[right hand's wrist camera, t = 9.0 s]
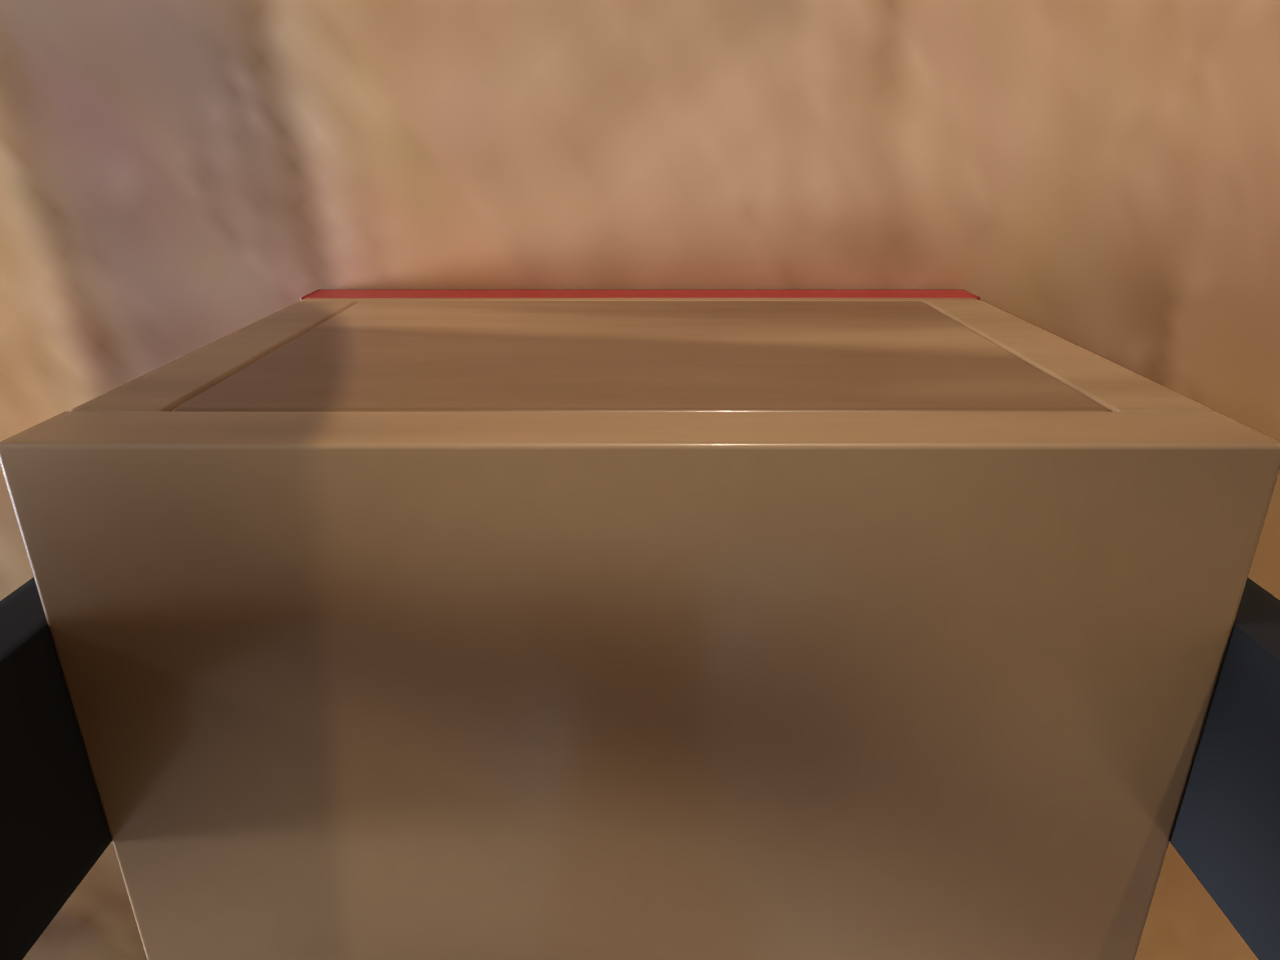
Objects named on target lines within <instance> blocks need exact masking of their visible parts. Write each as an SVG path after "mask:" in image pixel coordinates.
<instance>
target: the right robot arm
mask: <svg viewBox="0 0 1280 960" xmlns="http://www.w3.org/2000/svg"><path fill="white" fill-rule="evenodd" d="M111 841H112V839H111V836H110V832H109V829H108V826H107V822H106V819H105V815H104V812H103V809H102V805H101V802H100V799H99V795H98V792H97V788H96V785H95V782H94V778H93V775H92V772H91V768H90V765H89V761H88V758H87V755H86V751H85V748H84V744H83V741H82V738H81V734H80V731H79V728H78V724H77V721H76V717H75V714H74V711H73V707H72V704H71V701H70V697H69V694H68V690H67V687H66V684H65V680H64V677H63V674H62V670H61V667H60V663H59V660H58V657H57V653H56V650H55V647H54V643H53V640H52V636H51V633H50V630H49V626H48V623H47V620H46V616H45V613H44V609H43V606H42V603H41V599H40V596H39V592H38V589H37V586H36V582H35V579H34V577H33V578H32V579H31V580H29V581H28V582H26V583H25V584H24V585H22V586H21V587H20V588H18V589H17V590H15V591H14V592H13V593H11V594H10V595H8V596H7V597H6V598H4V599H3V600H1V601H0V960H22V959H23V958H24V956H25V955H26V954H27V953H28V951H29V950H30V949H31V947H32V946H33V945H34V943H35V942H36V941H37V939H38V938H39V937H40V935H41V934H42V933H43V931H44V930H45V929H46V927H47V926H48V925H49V923H50V922H51V921H52V919H53V918H54V917H55V915H56V914H57V913H58V911H59V910H60V909H61V907H62V906H63V905H64V903H65V902H66V901H67V899H68V898H69V897H70V895H71V894H72V893H73V892H74V890H75V889H76V888H77V886H78V885H79V884H80V882H81V881H82V880H83V878H84V877H85V876H86V874H87V873H88V872H89V870H90V869H91V868H92V866H93V865H94V864H95V862H96V861H97V860H98V858H99V857H100V856H101V854H102V853H103V852H104V850H105V849H106V848H107V846H108V845H109V844H110V842H111ZM1169 841H1170V843H1171V844H1172V845H1173V847H1174V848H1175V849H1176V850H1177V852H1178V853H1179V854H1180V856H1181V857H1182V858H1183V860H1184V861H1185V862H1186V864H1187V865H1188V866H1189V868H1190V869H1191V870H1192V872H1193V873H1194V874H1195V876H1196V877H1197V878H1198V880H1199V881H1200V882H1201V884H1202V885H1203V886H1204V888H1205V889H1206V890H1207V892H1208V893H1209V894H1210V896H1211V897H1212V898H1213V900H1214V901H1215V902H1216V904H1217V905H1218V906H1219V907H1220V909H1221V910H1222V911H1223V913H1224V914H1225V915H1226V917H1227V918H1228V919H1229V921H1230V922H1231V923H1232V925H1233V926H1234V927H1235V929H1236V930H1237V931H1238V933H1239V934H1240V935H1241V937H1242V938H1243V939H1244V941H1245V942H1246V943H1247V945H1248V946H1249V947H1250V949H1251V950H1252V951H1253V953H1254V954H1255V955H1256V957H1257V958H1258V959H1259V960H1280V600H1278V599H1277V598H1275V597H1274V596H1273V595H1271V594H1270V593H1268V592H1267V591H1266V590H1264V589H1263V588H1262V587H1260V586H1259V585H1257V584H1256V583H1255V582H1253V581H1252V580H1250V579H1249V578H1248V577H1247V581H1246V584H1245V587H1244V591H1243V594H1242V598H1241V601H1240V604H1239V608H1238V611H1237V614H1236V618H1235V621H1234V625H1233V628H1232V631H1231V635H1230V638H1229V641H1228V645H1227V648H1226V651H1225V655H1224V658H1223V662H1222V665H1221V668H1220V672H1219V675H1218V678H1217V682H1216V685H1215V689H1214V692H1213V695H1212V699H1211V702H1210V705H1209V709H1208V712H1207V716H1206V719H1205V722H1204V726H1203V729H1202V732H1201V736H1200V739H1199V743H1198V746H1197V749H1196V753H1195V756H1194V759H1193V763H1192V766H1191V770H1190V773H1189V776H1188V780H1187V783H1186V786H1185V790H1184V793H1183V796H1182V800H1181V803H1180V807H1179V810H1178V813H1177V817H1176V820H1175V823H1174V827H1173V830H1172V834H1171V837H1170V840H1169Z"/></svg>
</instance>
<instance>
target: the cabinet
mask: <svg viewBox="0 0 1280 960" xmlns="http://www.w3.org/2000/svg"><path fill="white" fill-rule="evenodd" d="M0 464H1V468H2V471H3V474H4V478H5V481H6V484H7V488H8V491H9V495H10V498H11V501H12V505H13V508H14V511H15V515H16V518H17V522H18V525H19V528H20V532H21V535H22V538H23V542H24V545H25V549H26V552H27V555H28V559H29V562H30V565H31V569H32V572H33V576H34V579H35V582H36V586H37V589H38V592H39V596H40V599H41V603H42V606H43V609H44V613H45V616H46V620H47V623H48V626H49V630H50V633H51V636H52V640H53V643H54V647H55V650H56V653H57V657H58V660H59V663H60V667H61V670H62V674H63V677H64V680H65V684H66V687H67V690H68V694H69V697H70V701H71V704H72V707H73V711H74V714H75V717H76V721H77V724H78V728H79V731H80V734H81V738H82V741H83V744H84V748H85V751H86V755H87V758H88V761H89V765H90V768H91V772H92V775H93V778H94V782H95V785H96V788H97V792H98V795H99V799H100V802H101V805H102V809H103V812H104V815H105V819H106V822H107V826H108V829H109V832H110V836H111V839H112V842H113V846H114V849H115V853H116V856H117V859H118V863H119V866H120V869H121V873H122V876H123V880H124V883H125V886H126V890H127V893H128V897H129V900H130V903H131V907H132V910H133V913H134V917H135V920H136V924H137V927H138V930H139V934H140V937H141V940H142V944H143V947H144V951H145V954H146V957H147V960H1134V958H1135V955H1136V952H1137V948H1138V945H1139V941H1140V938H1141V935H1142V931H1143V928H1144V925H1145V921H1146V918H1147V914H1148V911H1149V908H1150V904H1151V901H1152V898H1153V894H1154V891H1155V888H1156V884H1157V881H1158V877H1159V874H1160V871H1161V867H1162V864H1163V861H1164V857H1165V854H1166V850H1167V847H1168V844H1169V840H1170V837H1171V834H1172V830H1173V827H1174V823H1175V820H1176V817H1177V813H1178V810H1179V807H1180V803H1181V800H1182V796H1183V793H1184V790H1185V786H1186V783H1187V780H1188V776H1189V773H1190V770H1191V766H1192V763H1193V759H1194V756H1195V753H1196V749H1197V746H1198V743H1199V739H1200V736H1201V732H1202V729H1203V726H1204V722H1205V719H1206V716H1207V712H1208V709H1209V705H1210V702H1211V699H1212V695H1213V692H1214V689H1215V685H1216V682H1217V678H1218V675H1219V672H1220V668H1221V665H1222V662H1223V658H1224V655H1225V651H1226V648H1227V645H1228V641H1229V638H1230V635H1231V631H1232V628H1233V625H1234V621H1235V618H1236V614H1237V611H1238V608H1239V604H1240V601H1241V598H1242V594H1243V591H1244V587H1245V584H1246V581H1247V577H1248V574H1249V571H1250V567H1251V564H1252V560H1253V557H1254V554H1255V550H1256V547H1257V544H1258V540H1259V537H1260V533H1261V530H1262V527H1263V523H1264V520H1265V517H1266V513H1267V510H1268V506H1269V503H1270V500H1271V496H1272V493H1273V490H1274V486H1275V483H1276V480H1277V476H1278V473H1279V469H1280V441H1277V440H1275V439H1273V438H1271V437H1269V436H1267V435H1265V434H1263V433H1261V432H1258V431H1256V430H1254V429H1252V428H1250V427H1248V426H1246V425H1244V424H1242V423H1239V422H1237V421H1235V420H1233V419H1231V418H1229V417H1227V416H1225V415H1223V414H1220V413H1218V412H1214V410H1213V409H1211V408H1209V407H1207V406H1204V405H1202V404H1200V403H1198V402H1196V401H1194V400H1192V399H1190V398H1187V397H1185V396H1183V395H1181V394H1179V393H1177V392H1175V391H1173V390H1170V389H1168V388H1166V387H1164V386H1162V385H1160V384H1158V383H1156V382H1154V381H1151V380H1149V379H1147V378H1145V377H1143V376H1141V375H1139V374H1137V373H1134V372H1132V371H1130V370H1128V369H1126V368H1124V367H1122V366H1120V365H1118V364H1115V363H1113V362H1111V361H1109V360H1107V359H1105V358H1103V357H1101V356H1098V355H1096V354H1094V353H1092V352H1090V351H1088V350H1086V349H1084V348H1082V347H1079V346H1077V345H1075V344H1073V343H1071V342H1069V341H1067V340H1065V339H1062V338H1060V337H1058V336H1056V335H1054V334H1052V333H1050V332H1048V331H1046V330H1043V329H1041V328H1039V327H1037V326H1035V325H1033V324H1031V323H1029V322H1026V321H1024V320H1022V319H1020V318H1018V317H1016V316H1014V315H1012V314H1010V313H1007V312H1005V311H1003V310H1001V309H999V308H997V307H995V306H993V305H990V304H988V303H986V302H984V301H980V297H978V296H975V295H973V294H971V293H969V292H967V291H965V290H316V291H314V292H312V293H310V294H308V295H306V296H304V297H301V301H299V302H297V303H295V304H292V305H290V306H288V307H286V308H284V309H282V310H280V311H278V312H276V313H274V314H271V315H269V316H267V317H265V318H263V319H261V320H259V321H257V322H255V323H252V324H250V325H248V326H246V327H244V328H242V329H240V330H238V331H236V332H234V333H231V334H229V335H227V336H225V337H223V338H221V339H219V340H217V341H215V342H212V343H210V344H208V345H206V346H204V347H202V348H200V349H198V350H196V351H193V352H191V353H189V354H187V355H185V356H183V357H181V358H179V359H177V360H175V361H172V362H170V363H168V364H166V365H164V366H162V367H160V368H158V369H156V370H153V371H151V372H149V373H147V374H145V375H143V376H141V377H139V378H137V379H134V380H132V381H130V382H128V383H126V384H124V385H122V386H120V387H118V388H116V389H113V390H111V391H109V392H107V393H105V394H103V395H101V396H99V397H97V398H94V399H92V400H90V401H88V402H86V403H84V404H82V405H80V406H78V407H75V408H73V409H71V410H70V412H63V413H61V414H59V415H57V416H55V417H52V418H50V419H48V420H46V421H44V422H42V423H40V424H38V425H35V426H33V427H31V428H29V429H27V430H25V431H23V432H21V433H19V434H16V435H14V436H12V437H10V438H8V439H6V440H4V441H2V442H0Z"/></svg>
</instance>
